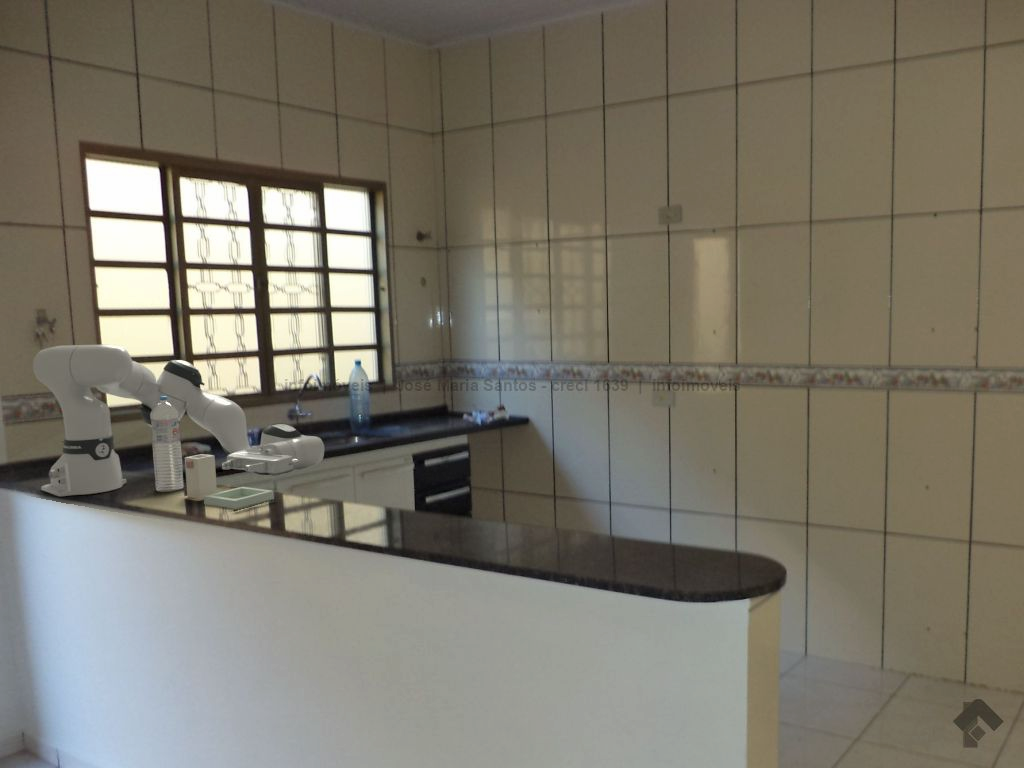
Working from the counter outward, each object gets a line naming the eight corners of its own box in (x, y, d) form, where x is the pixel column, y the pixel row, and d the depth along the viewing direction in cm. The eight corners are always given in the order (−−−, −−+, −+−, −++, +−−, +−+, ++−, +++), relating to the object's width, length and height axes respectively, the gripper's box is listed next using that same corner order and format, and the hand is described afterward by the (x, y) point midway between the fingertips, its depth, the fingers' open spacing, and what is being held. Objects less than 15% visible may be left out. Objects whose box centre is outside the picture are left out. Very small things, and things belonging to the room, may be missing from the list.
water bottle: (171, 487, 224) (164, 395, 222) (189, 489, 221) (183, 395, 219) (150, 492, 218) (142, 397, 216) (169, 494, 215) (161, 398, 213)
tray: (204, 506, 200) (203, 496, 200) (243, 496, 210) (242, 486, 210) (235, 511, 194) (235, 500, 194) (274, 500, 204) (273, 490, 203)
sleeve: (184, 497, 208) (181, 458, 207) (204, 492, 213) (201, 454, 212) (197, 499, 205) (194, 459, 204) (217, 494, 210) (214, 455, 209)
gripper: (304, 472, 224) (263, 483, 212) (252, 467, 235) (211, 476, 223) (302, 449, 223) (261, 458, 212) (251, 445, 234) (209, 453, 223)
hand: (235, 467), depth 218 cm, fingers open, 8 cm apart
